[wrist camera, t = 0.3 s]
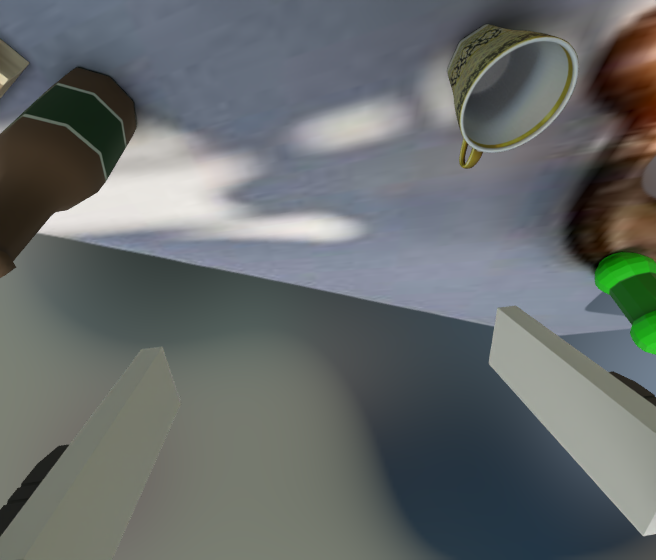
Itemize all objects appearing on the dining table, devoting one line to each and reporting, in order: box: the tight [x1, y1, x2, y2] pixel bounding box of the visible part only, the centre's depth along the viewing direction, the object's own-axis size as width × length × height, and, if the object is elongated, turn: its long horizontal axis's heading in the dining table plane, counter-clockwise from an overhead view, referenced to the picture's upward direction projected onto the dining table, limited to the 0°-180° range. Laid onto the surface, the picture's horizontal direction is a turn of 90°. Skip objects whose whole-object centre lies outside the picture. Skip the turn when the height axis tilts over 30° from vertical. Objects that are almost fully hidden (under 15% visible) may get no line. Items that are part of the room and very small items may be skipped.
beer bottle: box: [0, 67, 136, 278], centre depth 28 cm, size 8×8×24 cm
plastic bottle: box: [595, 252, 656, 354], centre depth 59 cm, size 10×10×25 cm
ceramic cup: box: [447, 24, 579, 169], centre depth 33 cm, size 13×10×10 cm
